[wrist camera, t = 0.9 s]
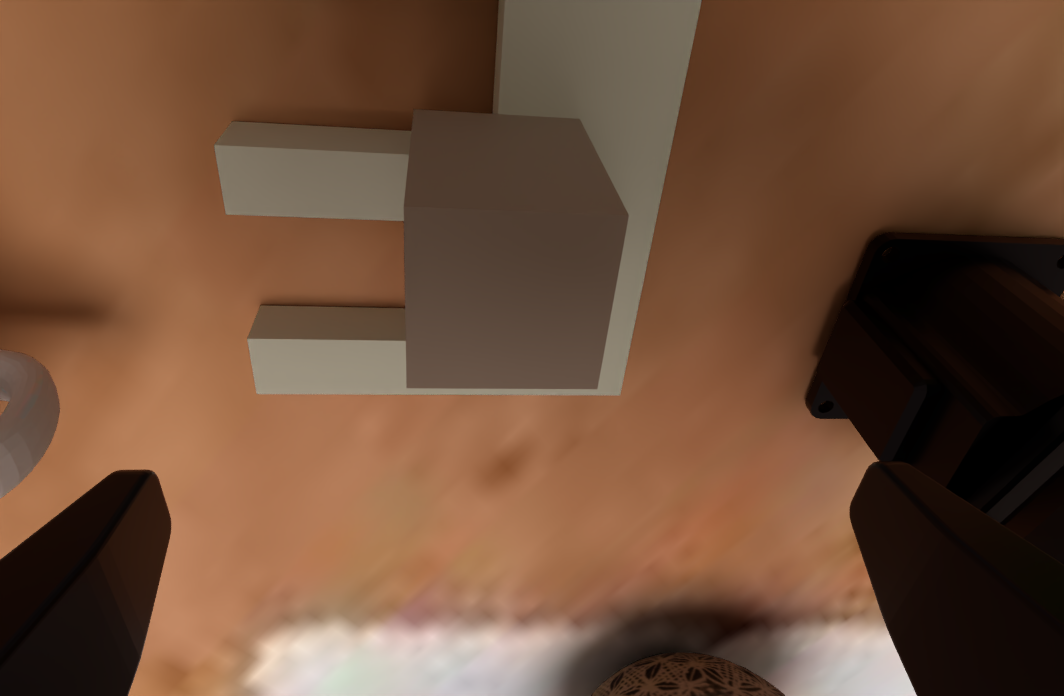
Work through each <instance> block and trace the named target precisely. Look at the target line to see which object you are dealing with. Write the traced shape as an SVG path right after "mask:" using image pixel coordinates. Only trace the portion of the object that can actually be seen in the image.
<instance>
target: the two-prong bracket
mask: <svg viewBox="0 0 1064 696" xmlns="http://www.w3.org/2000/svg"><path fill="white" fill-rule="evenodd" d="M701 2H702V0H499V7H498V25H497V42H496V60H495V78H494V95H493V113H492V114H488V113H471V112H453V111H436V110H419V109H414V112H413V121H412V131H403V130H385V129H366V128H348V127H329V126H311V125H293V124H274V123H256V122H237V121H232V122H231V123H230V125H229V126H228V127H227V128H226V130H225V131H224V132H223V134H222V135H221V136H220V138H219V139H218V140H217V142H216V143H215V144H214V148H215V154H216V160H217V166H218V172H219V178H220V183H221V189H222V195H223V201H224V207H225V212H226V215H252V216H279V217H306V218H333V219H360V220H387V221H404V263H405V308H367V307H317V306H268V305H260V307H259V310H258V313H257V315H256V318H255V320H254V323H253V325H252V328H251V330H250V333H249V335H248V338H247V341H248V346H249V352H250V358H251V364H252V370H253V375H254V381H255V387H256V393H257V394H374V395H620V393H621V388H622V384H623V379H624V374H625V369H626V364H627V359H628V355H629V350H630V345H631V340H632V335H633V330H634V326H635V321H636V316H637V311H638V306H639V301H640V297H641V292H642V287H643V282H644V277H645V272H646V268H647V263H648V258H649V253H650V248H651V243H652V239H653V234H654V229H655V224H656V219H657V214H658V209H659V205H660V200H661V195H662V190H663V185H664V180H665V176H666V171H667V166H668V161H669V156H670V151H671V147H672V142H673V137H674V132H675V127H676V122H677V118H678V113H679V108H680V103H681V98H682V93H683V89H684V84H685V79H686V74H687V69H688V64H689V60H690V55H691V50H692V45H693V40H694V35H695V31H696V26H697V21H698V16H699V11H700V6H701Z"/></svg>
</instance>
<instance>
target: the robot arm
mask: <svg viewBox="0 0 1064 696" xmlns="http://www.w3.org/2000/svg"><path fill="white" fill-rule="evenodd" d="M890 247H892V249H891V251H890V252H889V253H888V254H886V255H885V256H882V254H883V253H884V251H885V250H887V249H888V248H890ZM1061 257H1062V258H1061ZM1060 258H1061V259H1060ZM1063 291H1064V239H1050V238H1024V237H998V236H972V235H946V234H920V233H894V232H889V233H883V234H881V235H879V236H877V237H876V238H874V239H873V240H872V241H871V242H870V244H869V245H868V247H867V249H866V252H865V254H864V257H863V259H862V262H861V264H860V267H859V269H858V272H857V274H856V277H855V279H854V282H853V284H852V286H851V289H850V291H849V294H848V296H847V299H846V301H845V304H844V306H843V307H842V308H841V311H840V313H839V316H838V318H837V321H836V323H835V326H834V328H833V331H832V333H831V336H830V338H829V341H828V343H827V346H826V348H825V351H824V353H823V356H822V358H821V361H820V363H819V366H818V368H817V374H816V376H815V378H814V381H813V383H812V386H811V388H810V391H809V393H808V396H807V398H806V406H807V408H808V410H809V411H810V413H811V414H812V415H813V416H814V417H815V418H820V419H850V421H851V422H852V424H853V425H854V426H855V428H856V429H857V431H858V432H859V433H860V435H861V436H862V438H863V439H864V440H865V442H866V443H867V445H868V446H869V447H870V449H871V450H872V452H873V453H874V454H875V456H876V457H877V459H878V460H879V461H878V462H874V463H873V464H871V465H870V466H869V467H868V469H867V470H866V472H865V474H864V477H863V479H862V481H861V483H860V485H859V487H858V489H857V491H856V493H855V495H854V497H853V499H852V502H851V505H850V520H851V524H852V527H853V530H854V533H855V536H856V539H857V542H858V545H859V548H860V551H861V554H862V557H863V560H864V563H865V566H866V569H867V572H868V575H869V578H870V581H871V584H872V587H873V590H874V593H875V596H876V599H877V602H878V605H879V608H880V610H881V613H882V616H883V619H884V621H885V624H886V627H887V629H888V631H889V634H890V636H891V639H892V641H893V643H894V646H895V648H896V650H897V652H898V654H899V657H900V659H901V661H902V663H903V666H904V668H905V670H906V672H907V674H908V677H909V679H910V681H911V683H912V686H913V688H914V690H915V692H916V694H917V696H1064V300H1063V299H1062V298H1060V296H1061V294H1062V292H1063ZM825 401H826V402H825ZM823 402H825V403H823ZM821 403H823V404H821ZM820 404H821V405H820ZM170 534H171V518H170V514H169V510H168V507H167V504H166V501H165V498H164V495H163V491H162V488H161V485H160V482H159V479H158V477H157V475H156V474H155V473H154V472H153V471H151V470H119V471H115V472H113V473H111V474H110V475H108V476H107V477H106V478H104V479H103V480H102V481H100V482H99V483H98V484H97V485H95V486H94V487H93V488H92V489H90V490H89V491H88V492H86V493H85V494H84V495H83V496H81V497H80V498H79V499H77V500H76V501H75V502H74V503H72V504H71V505H70V506H68V507H67V508H66V509H65V510H63V511H62V512H61V513H59V514H58V515H57V516H56V517H54V518H53V519H52V520H51V521H49V522H48V523H47V524H45V525H44V526H43V527H42V528H40V529H39V530H38V531H36V532H35V533H34V534H33V535H31V536H30V537H29V538H27V539H26V540H25V541H24V542H22V543H21V544H20V545H18V546H17V547H16V548H15V549H13V550H12V551H11V552H9V553H8V554H7V555H6V556H4V557H3V558H2V559H1V560H0V696H128V694H129V691H130V688H131V685H132V683H133V680H134V677H135V674H136V671H137V668H138V665H139V662H140V659H141V655H142V651H143V647H144V644H145V640H146V636H147V632H148V627H149V623H150V619H151V615H152V611H153V606H154V602H155V598H156V594H157V590H158V585H159V581H160V577H161V573H162V569H163V564H164V560H165V556H166V552H167V548H168V544H169V539H170Z"/></svg>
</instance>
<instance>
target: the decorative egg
mask: <svg viewBox="0 0 1064 696" xmlns="http://www.w3.org/2000/svg"><path fill="white" fill-rule="evenodd" d="M591 696H785V695H784V694H783V693H782V692H781V691H780V690H778V689H777V688H775V687H774V686H773V685H772V684H770V683H769V682H767V681H766V680H764V679H763V678H761V677H760V676H758V675H756V674H754V673H753V672H751V671H749V670H748V669H746V668H744V667H741V666H738V665H736V664H734V663H732V662H730V661H727V660H724V659H721V658H717V657H714V656H709V655H705V654H700V653H685V652H677V653H664V654H660V655H655V656H651V657H648V658H644V659H641V660H638V661H636V662H634V663H632V664H630V665H628V666H626V667H625V668H623V669H621V670H620V671H618V672H617V673H615V674H614V675H613V676H611V677H610V678H608V679H607V680H606V681H605V682H603V683H602V684H601V685H600V686H599V687H598V688H597V689H596V691H595V692H594V693H593V694H592V695H591Z"/></svg>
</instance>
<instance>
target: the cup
mask: <svg viewBox="0 0 1064 696" xmlns="http://www.w3.org/2000/svg"><path fill="white" fill-rule="evenodd" d="M0 400H3V401H8V402H9V403H8V405H7V407H6V409H5V410H4V412H3V413H2V414H1V415H0V498H2V497H3V496H5V495H6V494H7V493H8V492H10V491H11V490H12V489H13V488H15V487H16V486H17V485H18V484H19V483H20V482H21V481H22V480H23V479H24V478H25V477H26V476H27V475H28V474H29V473H30V472H31V471H32V470H33V468H34V467H35V466H36V465H37V463H38V462H39V461H40V459H41V458H42V457H43V455H44V454H45V452H46V450H47V448H48V447H49V445H50V443H51V441H52V438H53V436H54V433H55V431H56V427H57V423H58V418H59V413H60V405H59V398H58V393H57V389H56V386H55V384H54V382H53V380H52V377H51V375H50V373H49V371H48V370H47V369H46V368H45V366H43V365H42V364H41V363H39V362H38V361H37V360H36V359H34V358H33V357H30V356H28V355H26V354H23V353H19V352H14V351H9V350H0Z"/></svg>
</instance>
